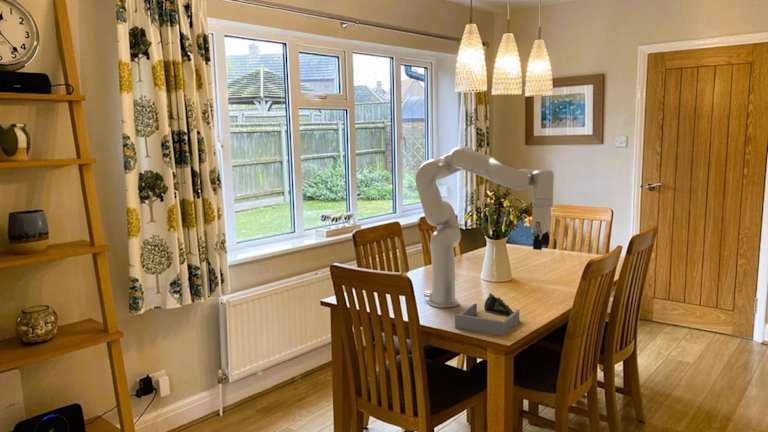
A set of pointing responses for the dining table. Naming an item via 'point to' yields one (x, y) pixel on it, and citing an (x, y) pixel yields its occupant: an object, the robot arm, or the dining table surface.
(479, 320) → the box
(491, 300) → the chocolate cake
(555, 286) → the dining table surface
